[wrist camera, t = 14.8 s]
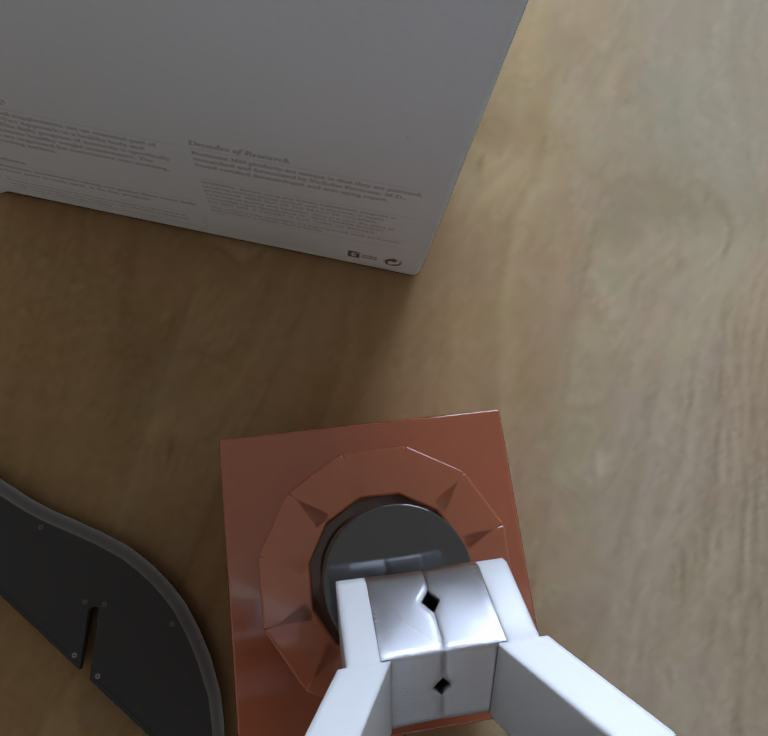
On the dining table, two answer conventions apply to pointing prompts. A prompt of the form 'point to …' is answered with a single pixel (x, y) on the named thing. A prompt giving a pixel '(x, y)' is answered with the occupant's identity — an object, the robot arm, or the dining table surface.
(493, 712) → the robot arm
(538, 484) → the dining table surface
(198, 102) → the supplement box
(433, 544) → the dark grey cylinder
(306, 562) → the button base
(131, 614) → the knife
